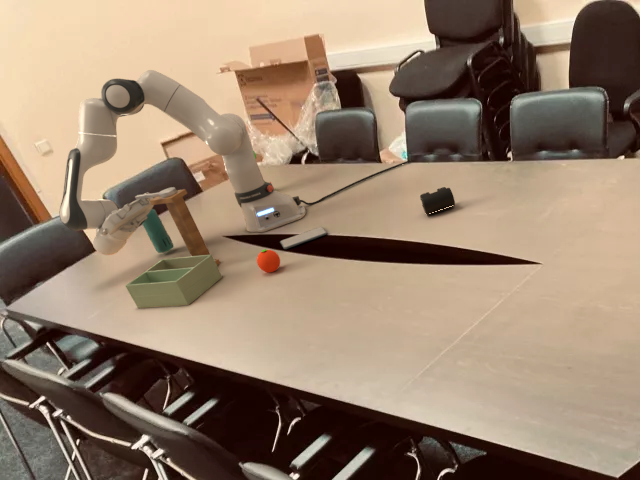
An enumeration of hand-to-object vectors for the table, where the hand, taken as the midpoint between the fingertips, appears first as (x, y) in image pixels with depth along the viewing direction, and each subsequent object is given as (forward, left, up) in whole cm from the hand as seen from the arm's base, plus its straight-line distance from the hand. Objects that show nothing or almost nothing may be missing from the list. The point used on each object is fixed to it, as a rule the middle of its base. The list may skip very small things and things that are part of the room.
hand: (138, 200), depth 230 cm
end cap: (-91, +19, -26) cm, 97 cm away
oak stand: (-11, +6, -26) cm, 28 cm away
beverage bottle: (+7, -23, -26) cm, 35 cm away
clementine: (-35, +27, -26) cm, 51 cm away
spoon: (-7, +4, 0) cm, 8 cm away
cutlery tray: (-5, +22, -26) cm, 34 cm away
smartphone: (-45, +7, -26) cm, 53 cm away
